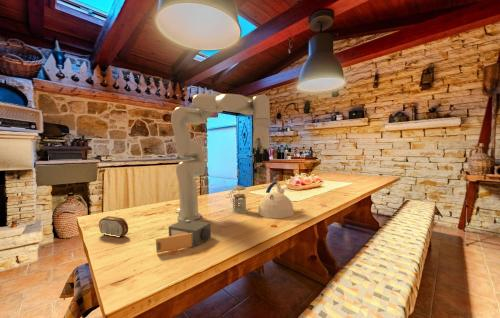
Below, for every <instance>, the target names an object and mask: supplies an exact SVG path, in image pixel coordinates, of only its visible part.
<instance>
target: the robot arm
mask: <svg viewBox="0 0 500 318" xmlns="http://www.w3.org/2000/svg"><path fill="white" fill-rule="evenodd" d="M192 105H193V107H194V108H192V107H188V106H178V107H176V108H175V109H173V111H172V113H171V116H170V124H171V128H172V131H173V137H174V142H175V143H174V144H175V149H176V150H175V151H176V155H177V156H178V157H179V158H181V159H188V160H182V161H180V162H178V164H176V167H175V173H176V176H177V180H178V181H177V182H178V192H179V195H178V196H179V199H178V200H179V208H177V209H176V211H175V214H178V216H177V221H178V222H180V221H182V220H184V219H186V220H193V221H198V220H199V219H201V218H202V214H201V213H200V212H199V204H198V203H199V202H198V201H199V199H198V185H197V181H196V179H195V177H199V176H203V175H204V173H205V172H206V161H205V154H204V153H205V152H204V148H203V145H202V144H201V143H200V142H199V141H197V140H192V136H191V132H190V129H189V127H188V126H187V124H188V125H195V126H196V125H197V126H198V125H201V124H203V123H204V122H205V121H206V120H207V119H209V118H210V117H211V116H212V115H213V114H214V113H222V112H223V111H226V112H234V113H238V114H239V113H240V114H242V115H245V116H252V120H253V121H252V123H253V125H252V126H253V131H252V132H253V133H252V138H253V139H252V148H253V150H254V161H255V164H256V163H257V164H260V163H263V162H270V130H269V128H270V127H271V112H270V108H271V107H270V98H269V96H268V95H264V94H260V95H254V96H253V98H249V97H247V96H246V95H242V94H234V93H221V94H216V93H215V94H214V93H203V92H202V93H197V94H195V95H194V96H193V97H192Z"/></svg>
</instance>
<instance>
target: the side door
mask: <svg viewBox="0 0 500 318" xmlns="http://www.w3.org/2000/svg"><path fill="white" fill-rule="evenodd" d="M191 247H192V248H193V247H194V246H193V233H187V234H181V235H175V236H169V235H168V236H163V237H158V238H155V249H156V254H159V253H166V252H170V251H176V250H181V249H186V248H187V249H188V248H191Z"/></svg>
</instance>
